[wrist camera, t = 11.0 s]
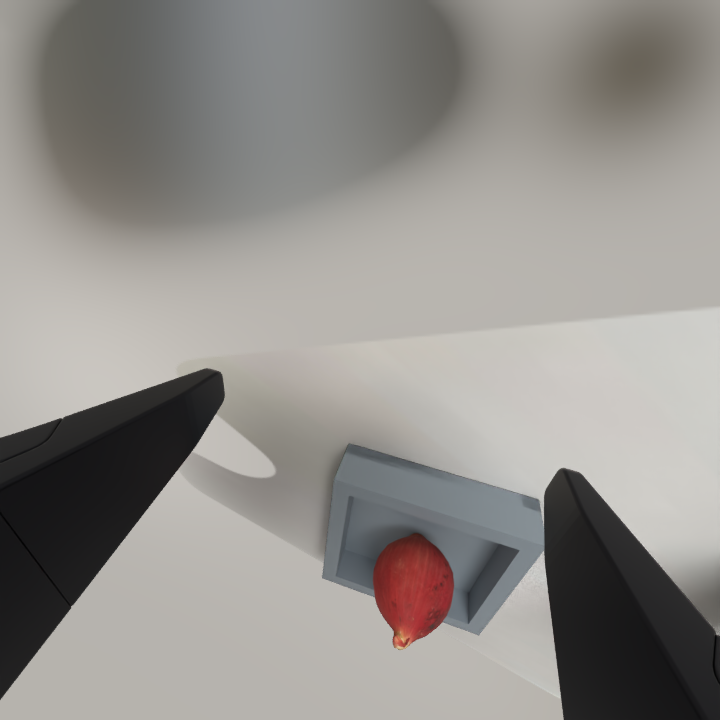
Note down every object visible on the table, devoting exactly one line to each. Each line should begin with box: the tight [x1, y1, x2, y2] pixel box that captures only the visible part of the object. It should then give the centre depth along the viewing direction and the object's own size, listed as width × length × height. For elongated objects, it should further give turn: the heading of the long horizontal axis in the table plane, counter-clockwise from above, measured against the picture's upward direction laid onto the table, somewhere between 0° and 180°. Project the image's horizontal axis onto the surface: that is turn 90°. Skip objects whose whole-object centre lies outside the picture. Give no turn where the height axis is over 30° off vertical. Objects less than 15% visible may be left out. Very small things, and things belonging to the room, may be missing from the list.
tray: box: [322, 443, 544, 635], centre depth 29 cm, size 14×14×4 cm
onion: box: [373, 533, 454, 650], centre depth 26 cm, size 6×6×8 cm
